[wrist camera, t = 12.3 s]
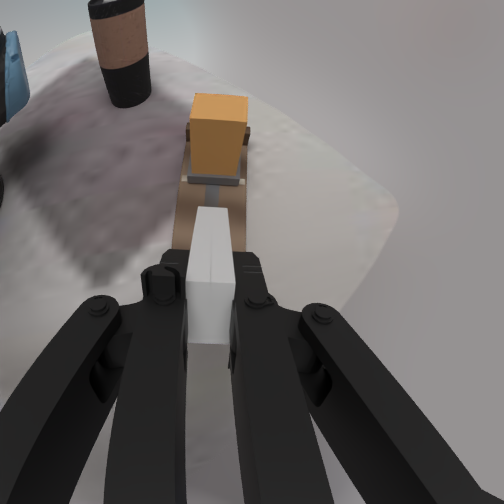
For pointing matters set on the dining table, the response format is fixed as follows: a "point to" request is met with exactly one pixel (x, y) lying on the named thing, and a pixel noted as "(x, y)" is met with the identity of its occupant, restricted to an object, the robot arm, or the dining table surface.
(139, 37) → the travel mug
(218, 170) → the fader knob
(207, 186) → the fader rail
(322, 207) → the dining table surface
